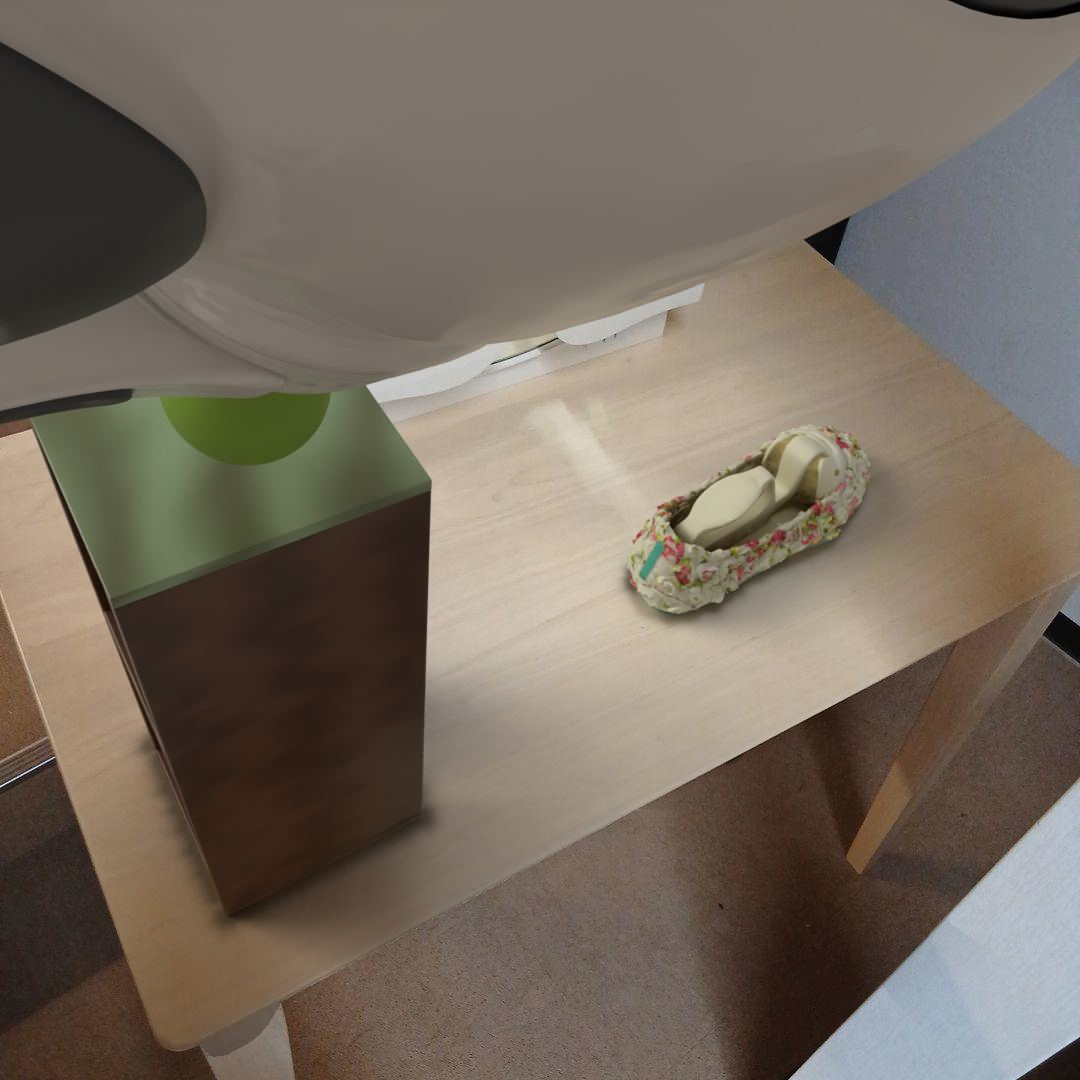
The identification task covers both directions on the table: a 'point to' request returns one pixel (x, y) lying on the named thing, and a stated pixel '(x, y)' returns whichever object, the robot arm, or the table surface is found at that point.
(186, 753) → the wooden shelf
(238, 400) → the snail figurine
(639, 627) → the table surface
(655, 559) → the ballet flat
